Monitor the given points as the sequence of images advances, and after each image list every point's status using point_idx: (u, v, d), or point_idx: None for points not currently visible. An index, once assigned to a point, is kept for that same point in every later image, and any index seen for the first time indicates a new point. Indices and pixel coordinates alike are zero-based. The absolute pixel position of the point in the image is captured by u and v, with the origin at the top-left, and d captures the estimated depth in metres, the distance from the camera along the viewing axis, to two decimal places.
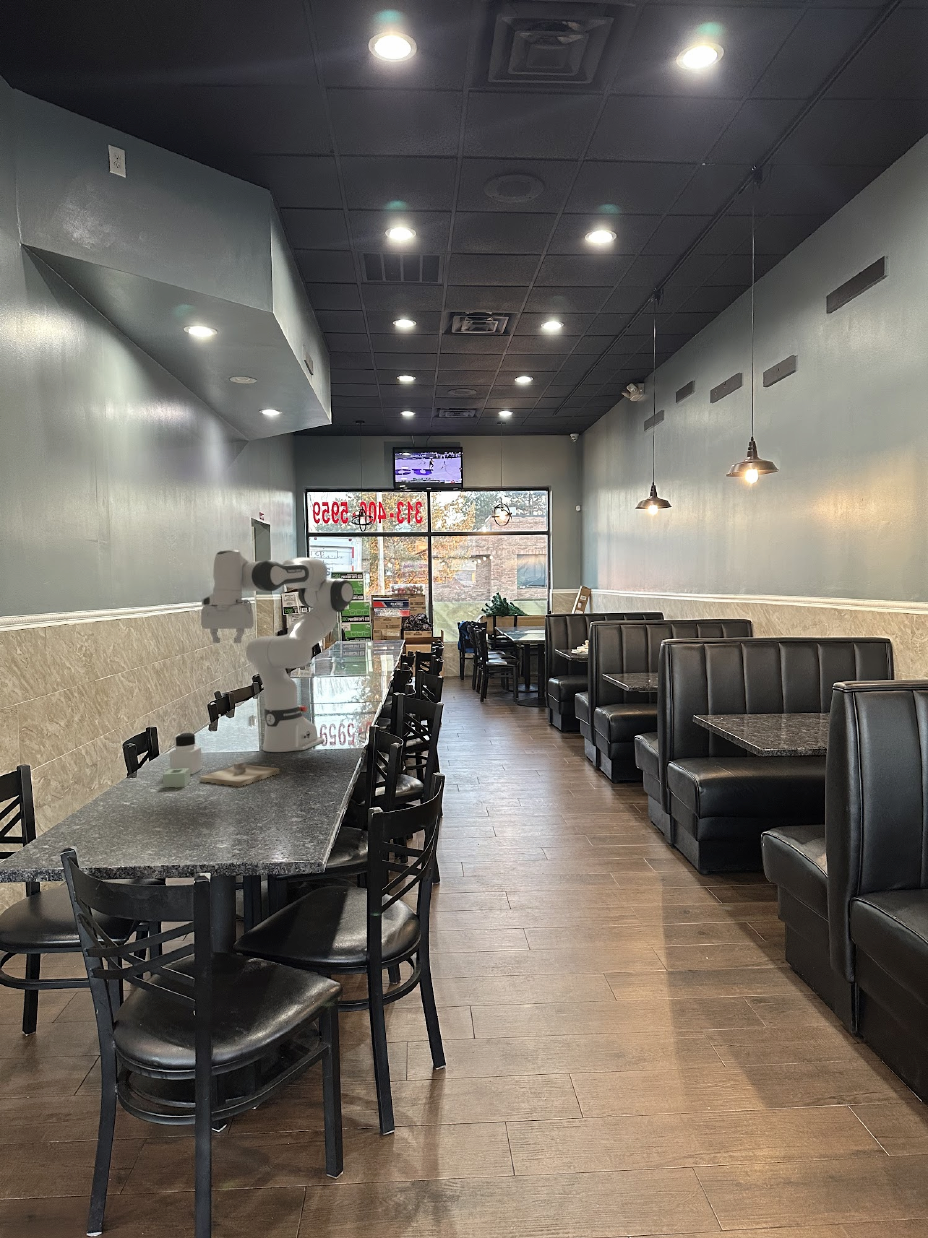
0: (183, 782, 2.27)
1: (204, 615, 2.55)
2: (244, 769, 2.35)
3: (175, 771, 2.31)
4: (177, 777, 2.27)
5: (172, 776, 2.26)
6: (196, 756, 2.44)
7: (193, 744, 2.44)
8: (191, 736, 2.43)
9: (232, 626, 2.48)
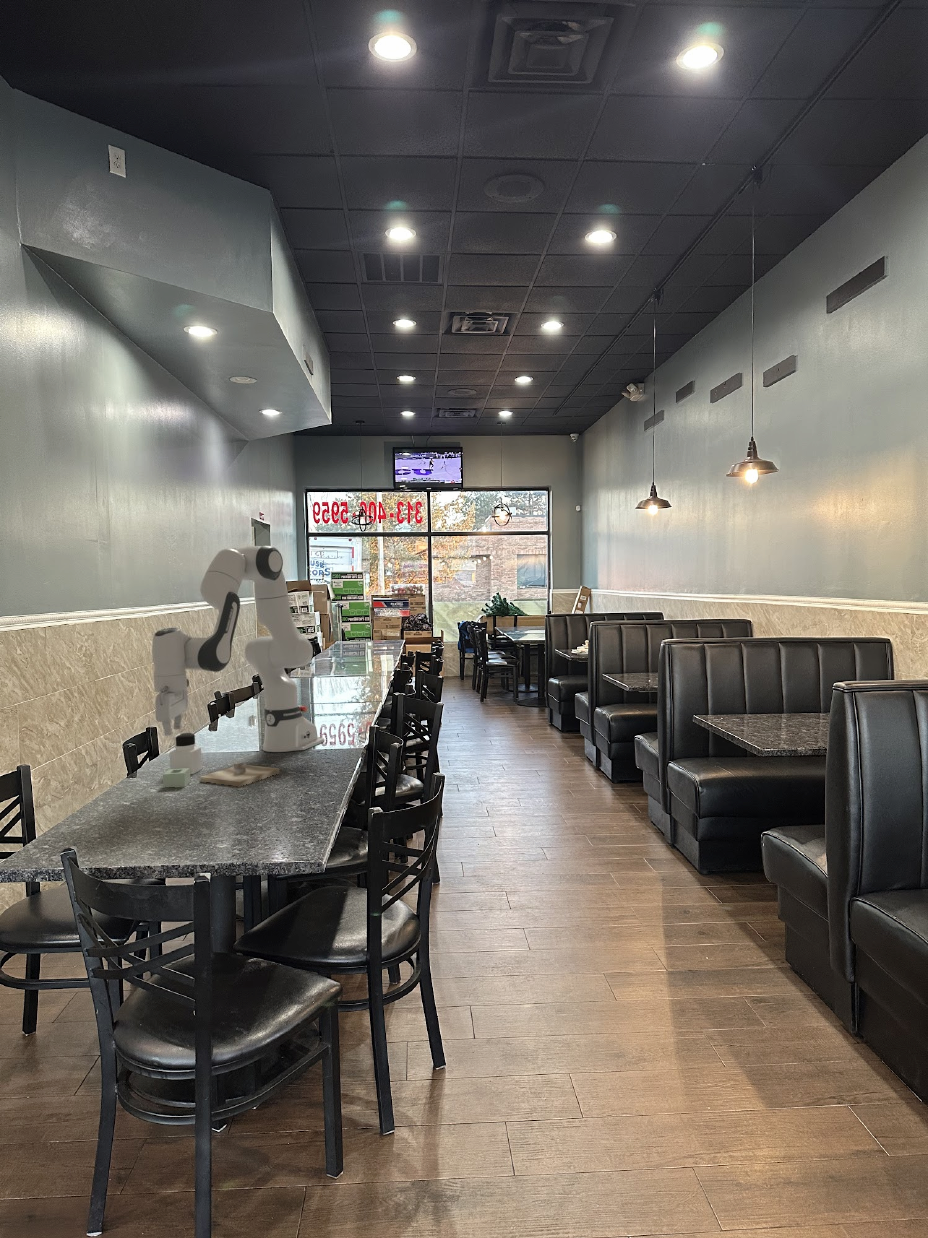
0: (183, 782, 2.27)
1: None
2: (244, 769, 2.35)
3: (175, 771, 2.31)
4: (177, 777, 2.27)
5: (172, 776, 2.26)
6: (196, 756, 2.44)
7: (193, 744, 2.44)
8: (191, 736, 2.43)
9: None
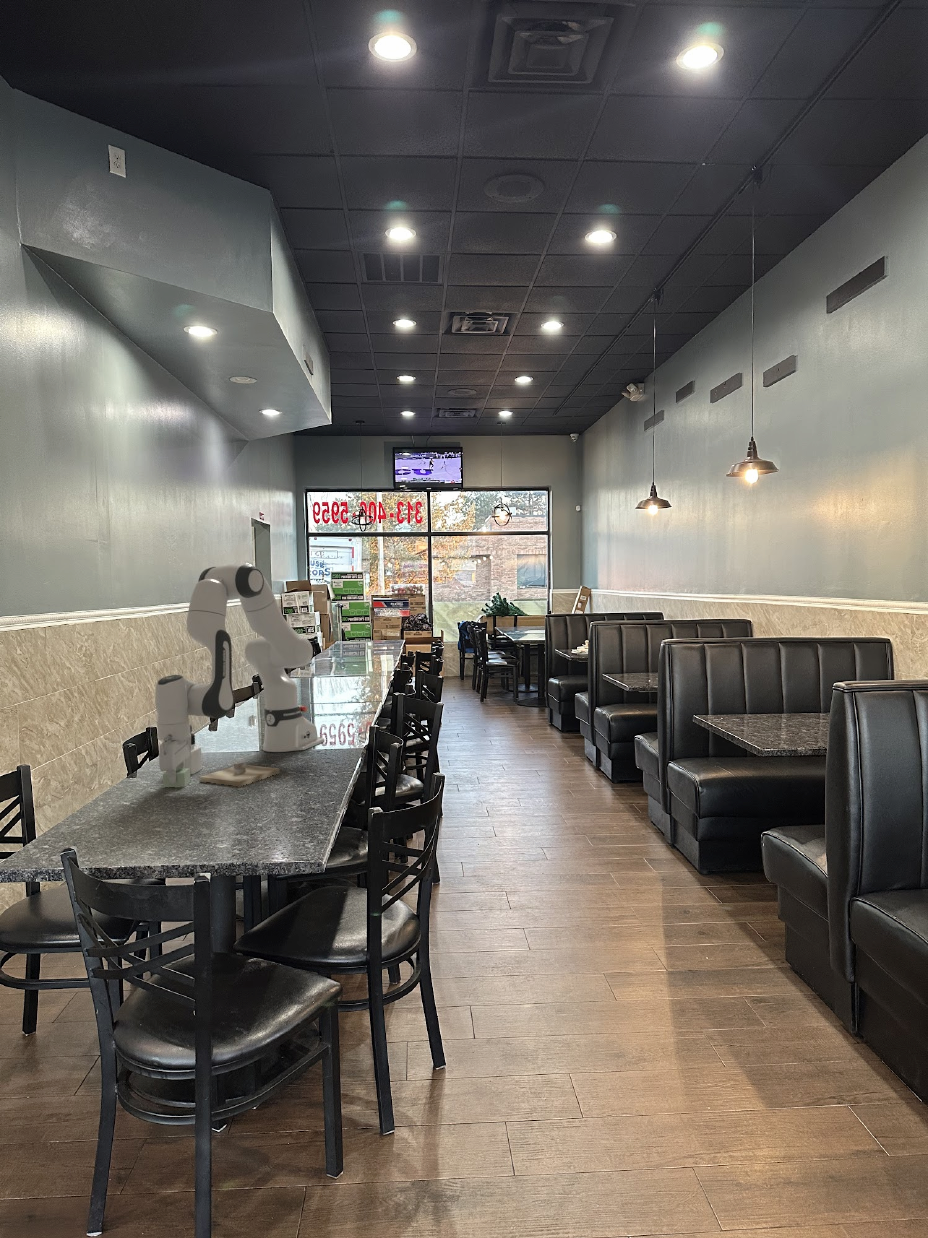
0: (183, 782, 2.27)
1: None
2: (244, 769, 2.35)
3: (175, 771, 2.31)
4: (177, 777, 2.27)
5: None
6: (196, 756, 2.44)
7: (193, 744, 2.44)
8: (191, 736, 2.43)
9: None
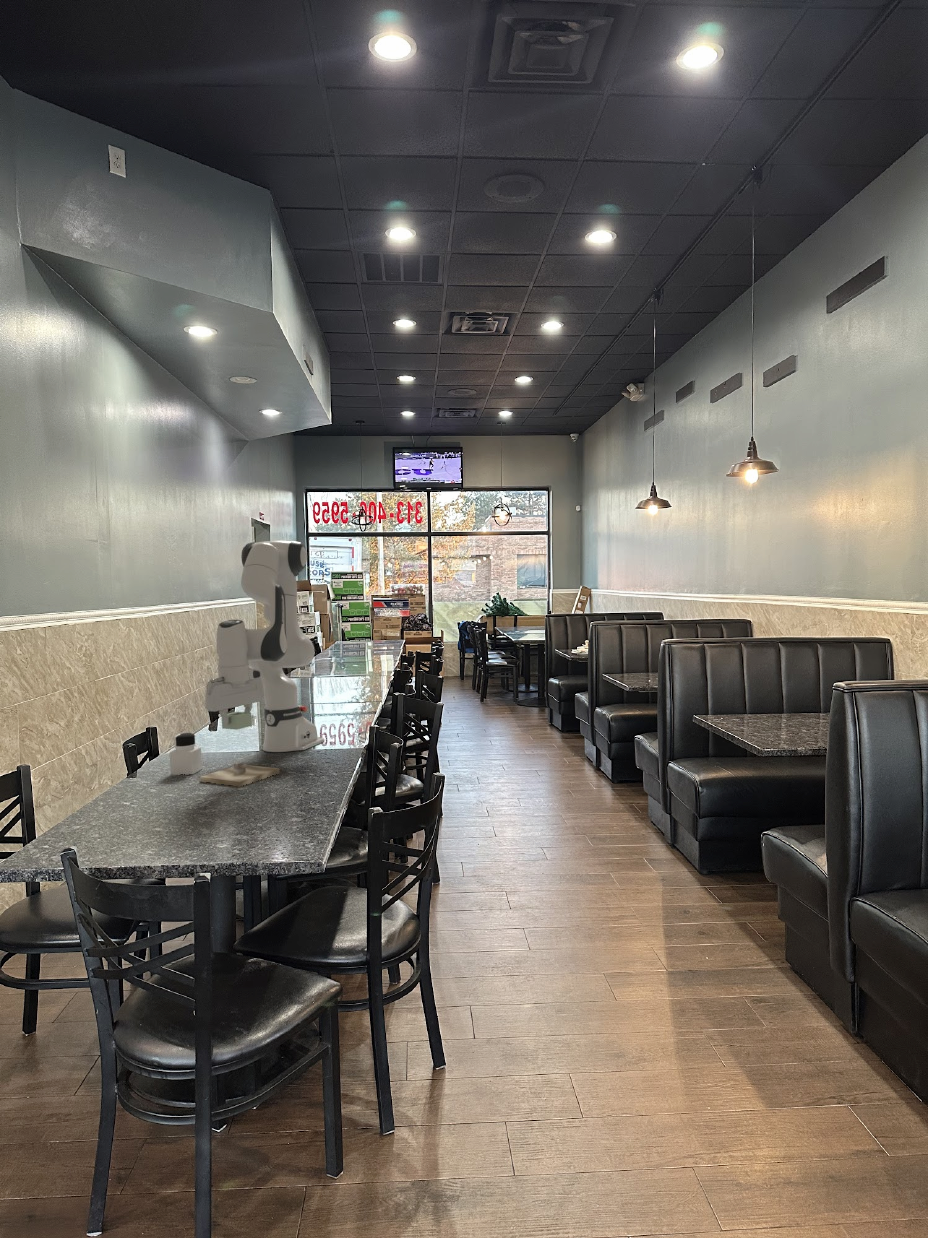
0: (235, 725, 2.30)
1: None
2: (244, 769, 2.35)
3: (239, 714, 2.36)
4: (231, 719, 2.31)
5: None
6: (196, 756, 2.44)
7: (193, 744, 2.44)
8: (191, 736, 2.43)
9: None
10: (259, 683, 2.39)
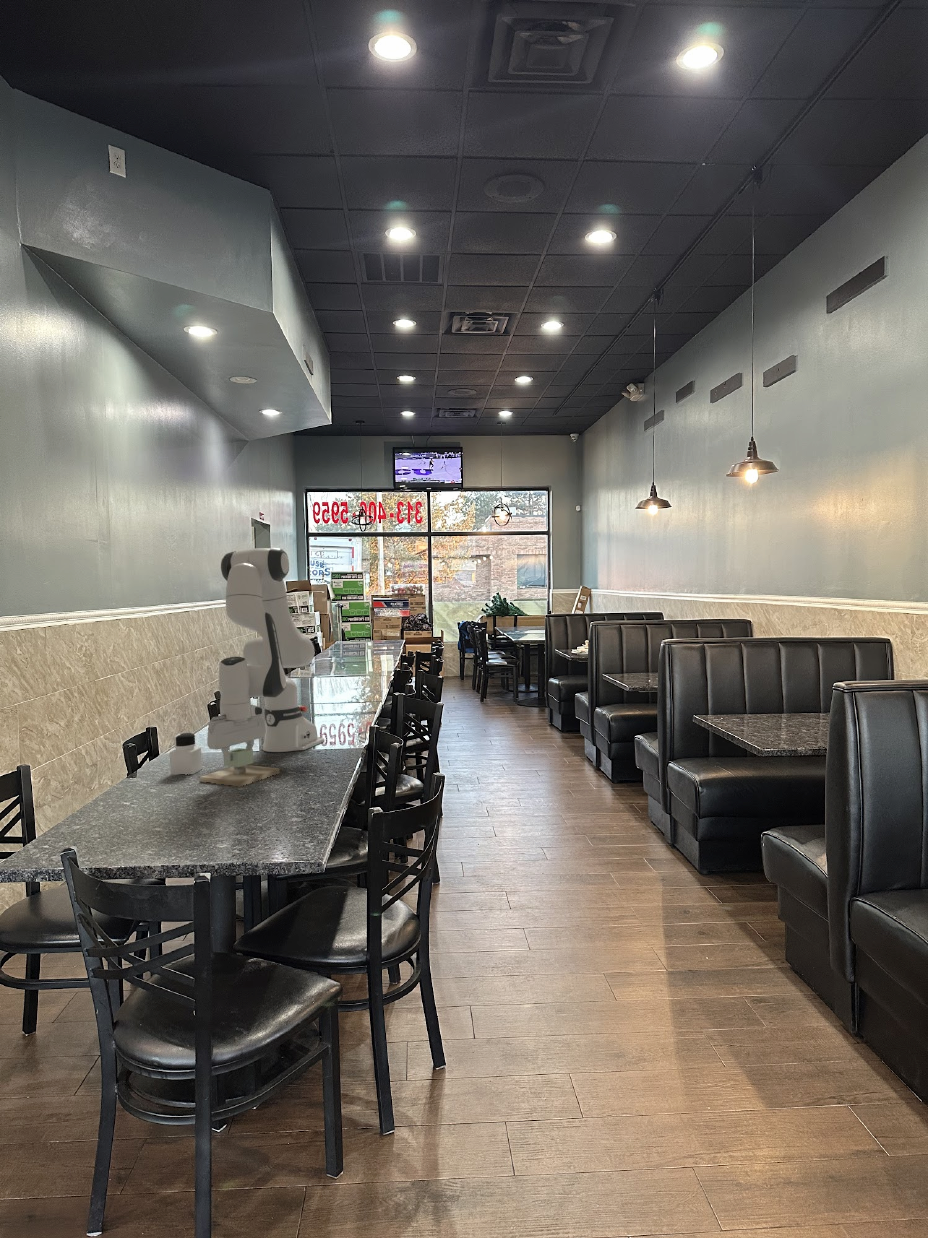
0: (237, 762, 2.30)
1: None
2: (244, 769, 2.35)
3: (241, 750, 2.36)
4: None
5: None
6: (196, 756, 2.44)
7: (193, 744, 2.44)
8: (191, 736, 2.43)
9: None
10: (261, 719, 2.40)
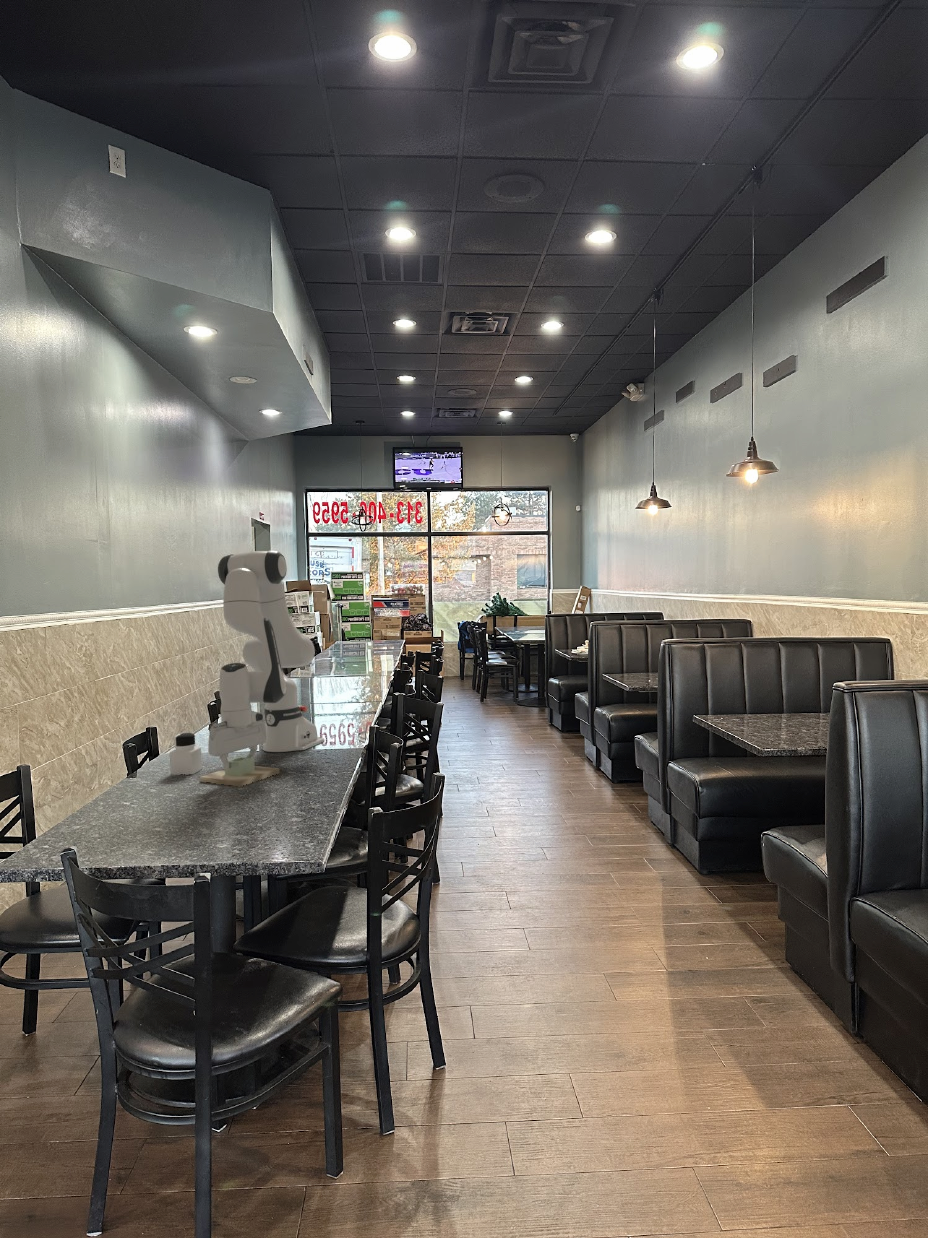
0: (238, 771, 2.31)
1: None
2: None
3: (242, 759, 2.37)
4: (234, 766, 2.32)
5: None
6: (196, 756, 2.44)
7: (193, 744, 2.44)
8: (191, 736, 2.43)
9: None
10: (262, 725, 2.40)
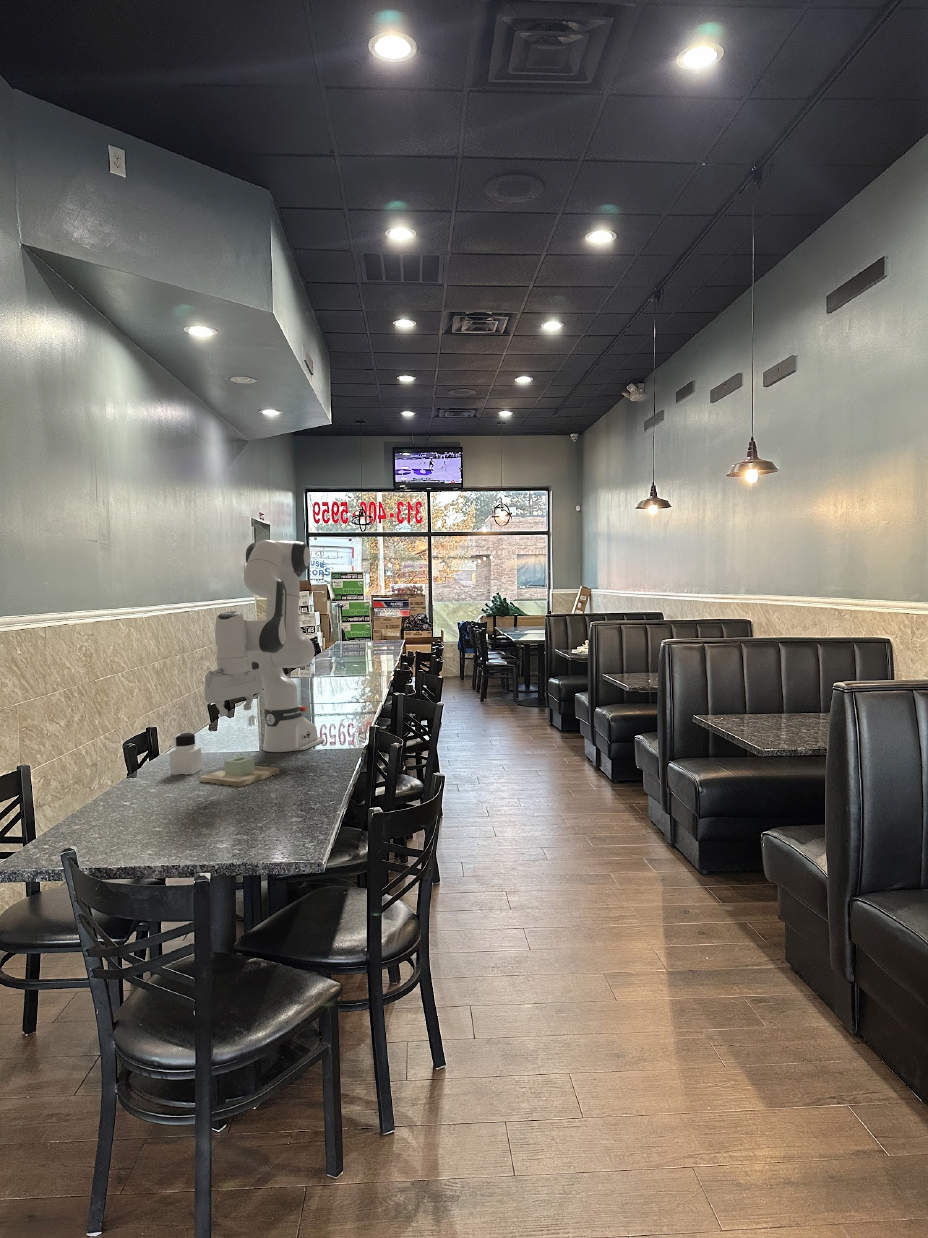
0: (238, 771, 2.31)
1: None
2: None
3: (242, 759, 2.37)
4: (234, 766, 2.32)
5: (230, 763, 2.32)
6: (196, 756, 2.44)
7: (193, 744, 2.44)
8: (191, 736, 2.43)
9: None
10: (258, 674, 2.40)
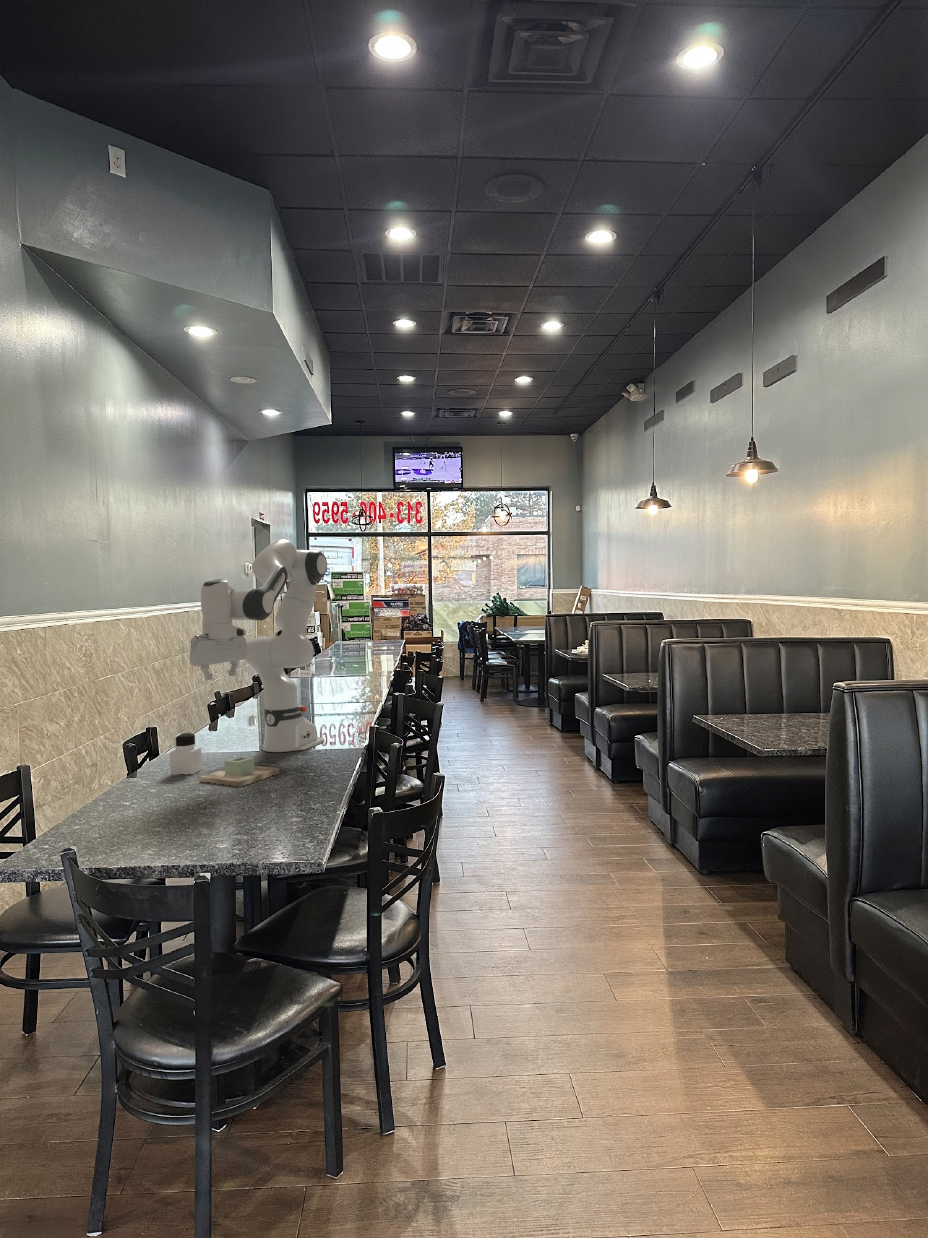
0: (238, 771, 2.31)
1: None
2: None
3: (242, 759, 2.37)
4: (234, 766, 2.32)
5: (230, 763, 2.32)
6: (196, 756, 2.44)
7: (193, 744, 2.44)
8: (191, 736, 2.43)
9: None
10: (243, 641, 2.47)
